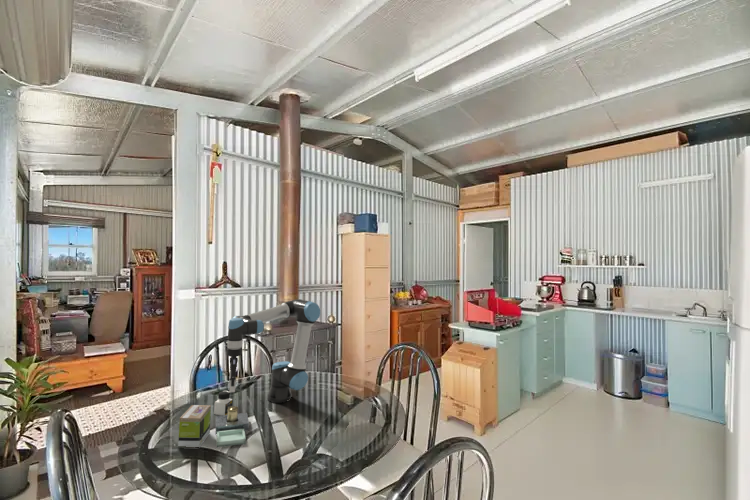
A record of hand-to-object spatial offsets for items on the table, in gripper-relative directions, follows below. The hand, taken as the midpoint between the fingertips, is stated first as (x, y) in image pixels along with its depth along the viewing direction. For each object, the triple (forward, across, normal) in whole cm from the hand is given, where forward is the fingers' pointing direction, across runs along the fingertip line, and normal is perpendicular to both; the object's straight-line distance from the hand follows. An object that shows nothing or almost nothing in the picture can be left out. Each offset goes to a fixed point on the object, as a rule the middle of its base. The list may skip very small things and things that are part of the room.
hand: (231, 387), depth 201 cm
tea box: (+21, +11, -16) cm, 29 cm away
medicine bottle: (+21, -18, -3) cm, 28 cm away
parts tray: (+21, +15, +1) cm, 26 cm away
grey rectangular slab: (+21, +1, +1) cm, 21 cm away
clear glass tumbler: (+21, +1, +1) cm, 21 cm away
